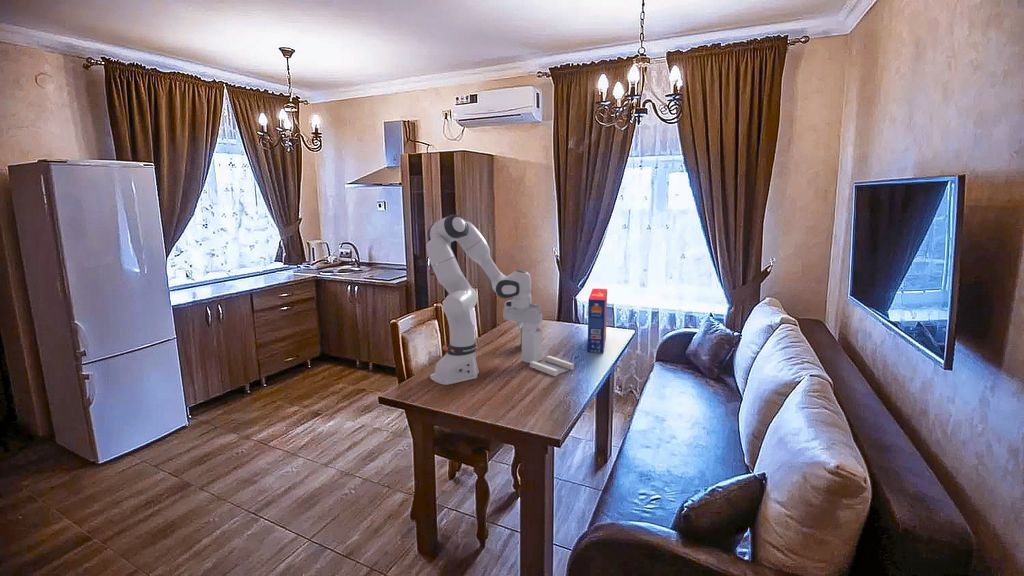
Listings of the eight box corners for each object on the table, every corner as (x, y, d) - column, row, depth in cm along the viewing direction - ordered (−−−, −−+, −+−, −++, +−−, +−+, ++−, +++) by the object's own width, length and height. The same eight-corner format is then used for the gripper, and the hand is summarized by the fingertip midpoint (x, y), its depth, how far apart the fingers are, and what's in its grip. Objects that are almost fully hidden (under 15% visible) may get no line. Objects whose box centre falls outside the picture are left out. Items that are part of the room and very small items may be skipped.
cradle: (554, 376, 215) (554, 370, 215) (530, 366, 227) (530, 361, 226) (574, 368, 224) (574, 363, 223) (549, 360, 235) (549, 355, 235)
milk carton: (529, 357, 240) (529, 320, 236) (541, 360, 236) (541, 322, 232) (521, 361, 234) (521, 323, 230) (533, 364, 230) (533, 326, 226)
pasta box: (603, 353, 244) (604, 299, 239) (587, 352, 246) (588, 299, 241) (605, 337, 271) (607, 289, 266) (591, 336, 273) (592, 288, 268)
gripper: (544, 303, 232) (544, 331, 235) (507, 299, 242) (508, 326, 244) (538, 306, 227) (538, 334, 229) (501, 302, 236) (501, 329, 239)
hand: (522, 330), depth 237 cm, fingers closed
